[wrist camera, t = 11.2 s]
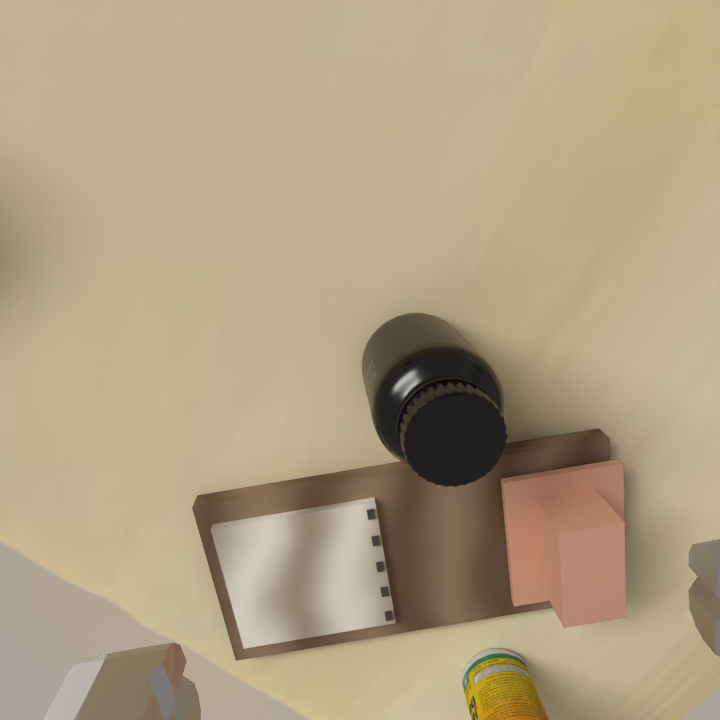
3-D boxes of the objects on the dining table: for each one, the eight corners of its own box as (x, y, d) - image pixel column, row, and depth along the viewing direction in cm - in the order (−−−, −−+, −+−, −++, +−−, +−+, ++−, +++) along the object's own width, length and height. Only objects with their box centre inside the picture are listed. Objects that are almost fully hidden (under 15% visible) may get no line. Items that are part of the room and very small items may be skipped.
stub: (619, 459, 37) (658, 495, 33) (621, 582, 40) (657, 630, 36) (500, 478, 37) (523, 518, 33) (511, 600, 40) (534, 651, 36)
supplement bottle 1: (425, 428, 38) (467, 533, 26) (341, 376, 36) (346, 464, 25) (487, 346, 36) (560, 420, 25) (401, 289, 35) (436, 339, 23)
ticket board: (598, 428, 38) (614, 443, 36) (603, 583, 42) (617, 604, 40) (197, 495, 38) (189, 514, 36) (239, 644, 42) (234, 669, 40)
